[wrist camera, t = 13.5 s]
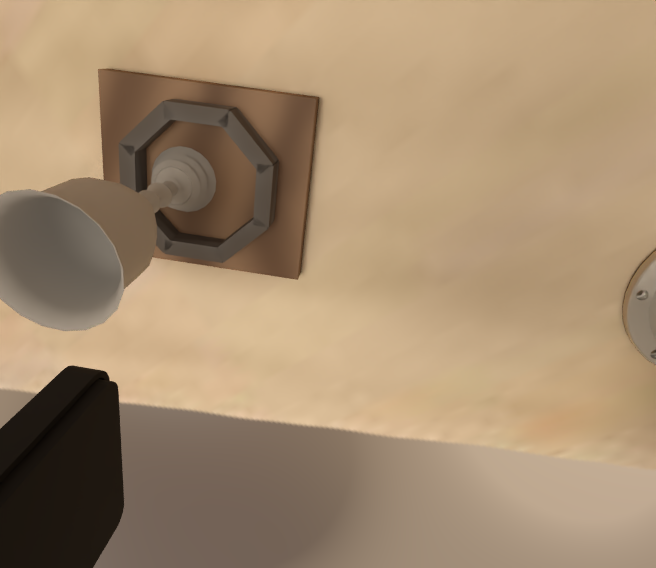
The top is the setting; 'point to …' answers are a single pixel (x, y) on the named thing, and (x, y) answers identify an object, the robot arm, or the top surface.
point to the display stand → (217, 165)
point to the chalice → (90, 239)
